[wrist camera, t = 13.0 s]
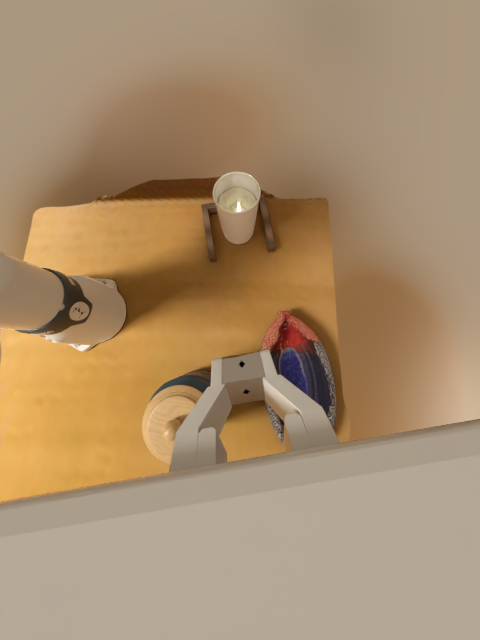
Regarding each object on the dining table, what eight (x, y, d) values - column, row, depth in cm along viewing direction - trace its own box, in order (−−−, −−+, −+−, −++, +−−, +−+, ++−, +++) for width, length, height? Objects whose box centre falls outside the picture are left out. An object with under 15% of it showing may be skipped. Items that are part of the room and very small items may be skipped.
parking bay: (274, 251, 47) (275, 246, 45) (210, 261, 46) (209, 257, 44) (263, 200, 49) (264, 194, 47) (203, 210, 49) (201, 204, 47)
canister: (238, 385, 41) (234, 411, 24) (212, 439, 39) (188, 510, 22) (189, 359, 42) (152, 367, 25) (162, 411, 41) (102, 458, 23)
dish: (267, 451, 39) (270, 466, 34) (253, 316, 44) (254, 312, 39) (337, 446, 39) (350, 460, 34) (315, 310, 44) (324, 305, 39)
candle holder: (263, 227, 48) (270, 187, 36) (241, 254, 47) (240, 222, 35) (235, 208, 49) (232, 163, 37) (212, 233, 48) (202, 195, 36)
